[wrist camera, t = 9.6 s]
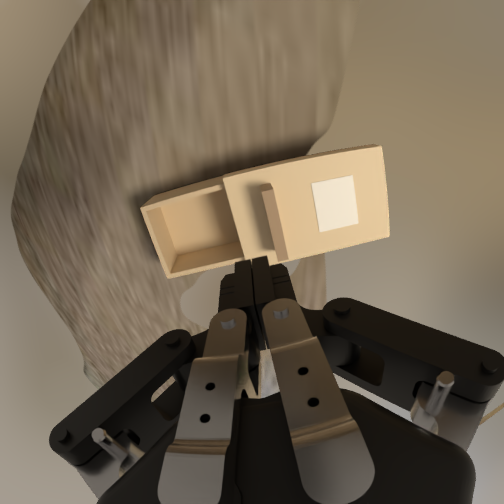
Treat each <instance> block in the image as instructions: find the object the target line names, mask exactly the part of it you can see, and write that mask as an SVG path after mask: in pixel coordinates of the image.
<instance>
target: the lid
mask: <svg viewBox="0 0 504 504" xmlns="http://www.w3.org/2000/svg"><path fill="white" fill-rule="evenodd" d="M223 182H224V185H225V189H226V193H227V196H228V200H229V203H230V207H231V211H232V214H233V218H234V221H235V225H236V228H237V232H238V235H239V239H240V243H241V246H242V250H243V253H244V257H245V260H247V259H251V262H252V258H256V257H261V256H266V255H267V257H268V261H269V266H270V265H274V264H279V263H282V262H287V261H291V260H296V259H300V258H304V257H308V256H312V255H316V254H321V253H325V252H329V251H333V250H337V249H341V248H345V247H349V246H353V245H357V244H361V243H365V242H369V241H373V240H377V239H381V238H385V237H389V236H390V228H389V211H388V198H387V186H386V177H385V168H384V160H383V153H382V146H379V145H375V144H371V145H364V146H357V147H352V148H345V149H340V150H334V151H328V152H323V153H317V154H312V155H307V156H302V157H297V158H292V159H287V160H283V161H278V162H274V163H269V164H265V165H261V166H256V167H252V168H248V169H244V170H240V171H236V172H232V173H228V174H224V176H223Z"/></svg>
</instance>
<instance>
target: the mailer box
mask: <svg viewBox="0 0 504 504" xmlns="http://www.w3.org/2000/svg"><path fill="white" fill-rule="evenodd" d="M223 176H224V175H223ZM223 176H219V177H216V178H212V179H208V180H205V181H201V182H197V183H194V184H190V185H187V186H184V187H180V188H177V189H173V190H170V191H167V192H164V193H160V194H157V195H154V196H153V197H152V198H151V199H149V200H148V201H147V202H146V203H145V204H144V205H143V206H142V207H141V208H140V209H141V212H142V214H143V217H144V220H145V223H146V225H147V228H148V231H149V233H150V236H151V239H152V241H153V244H154V246H155V249H156V251H157V254H158V256H159V259H160V261H161V264H162V266H163V269H164V271H165V274H166V276H167V278H168V279H169V278H174V277H178V276H183V275H187V274H191V273H196V272H200V271H204V270H209V269H213V268H217V267H222V266H225V265H230V264H235V262H238V261H243V260H245V257H244V253H243V250H242V246H241V243H240V239H239V235H238V232H237V228H236V225H235V221H234V218H233V214H232V211H231V207H230V203H229V200H228V196H227V193H226V189H225V185H224V182H223Z"/></svg>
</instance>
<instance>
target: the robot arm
mask: <svg viewBox="0 0 504 504" xmlns="http://www.w3.org/2000/svg"><path fill="white" fill-rule="evenodd" d="M265 341H266V345H267V349H270V352H271V356H272V360H273V364H274V369H275V373H276V377H277V381H278V385H279V389H280V392H278V393H275V394H273V395H270V396H268V397H265V398H261V368H262V366H261V362H260V351H261V350H266V345H265ZM333 373H335V374H337V375H338V376H341V377H342V378H344V379H346V380H348V381H350V382H352V383H354V384H355V385H357V386H359V387H361V388H363V389H365V390H367V391H369V392H371V393H373V394H375V395H377V396H379V397H381V398H383V399H385V400H387V401H389V402H391V403H393V404H395V405H397V406H399V407H401V408H404V409H406V410H408V411H410V412H411V419H412V422H413V423H412V422H410V421H408V420H406V419H405V418H403V417H400V416H399V415H397V414H395V413H393V412H391V411H390V410H388V409H386V408H384V407H382V406H381V405H379V404H377V403H375V402H373V401H372V400H370V399H368V398H366V397H364V396H363V395H361V394H358V393H356V392H353V391H350V390H347V389H341V388H339V386H338V384H337V382H336V379H335V377H334V375H333ZM171 376H173V377H174V379H175V382H174V383H173V384H172V385H171V386H170V387H168V388H167V389H166V390H165V391H164V392H163V393H162V394H161V395H160V396H159V397H158V398H157V399H156V400H155V401H154V402H151V397H152V395H153V393H154V392H155V391H156V390H157V389H158V388H159V387H160V386H162V385H163V384H164V383H165V382H166V381H167V380H168V379H169V378H170V377H171ZM503 381H504V357H503V356H502V355H501V354H500V353H499V352H497V351H495V350H492V349H489V348H487V347H484V346H481V345H478V344H475V343H472V342H470V341H467V340H464V339H461V338H459V337H456V336H453V335H450V334H447V333H445V332H442V331H439V330H436V329H433V328H431V327H428V326H425V325H422V324H420V323H417V322H414V321H411V320H409V319H406V318H403V317H400V316H398V315H395V314H392V313H390V312H387V311H384V310H381V309H379V308H376V307H373V306H370V305H368V304H365V303H362V302H360V301H357V300H354V299H351V298H337V299H333V300H331V301H329V302H328V303H327V304H326V305H325V306H324V307H323V310H309V309H306V308H303V307H302V306H300V305H299V304H298V303H297V300H296V297H295V294H294V290H293V287H292V283H291V280H290V276H289V273H288V270H287V268H286V267H285V266H284V265H282V264H281V263H279V264H275V265H270V266H269V261H268V257H267V255H266V256H261V257H256V258H252V262H251V259H247V260H243V261H238V262H235V273H232V274H228V275H225V277H224V278H223V279H222V281H221V285H220V296H219V307H218V313H217V314H216V315H215V316H214V317H213V318H212V319H211V322H210V326H209V329H208V330H206V331H204V332H202V333H199V334H197V335H194V336H191V335H190V333H189V332H188V331H186V330H183V329H176V330H172V331H169V332H167V333H165V334H164V335H163V336H161V337H160V338H159V339H158V340H157V341H155V342H154V343H153V344H152V345H151V346H150V347H148V348H147V349H146V350H145V351H144V352H142V353H141V354H140V355H139V356H138V357H137V358H135V359H134V360H133V361H132V362H131V363H130V364H128V365H127V366H126V367H125V368H124V369H122V370H121V371H120V372H119V373H118V374H117V375H115V376H114V377H113V378H112V379H111V380H109V381H108V382H107V383H106V384H105V385H104V386H102V387H101V388H100V389H99V390H98V391H97V392H95V393H94V394H93V395H92V396H91V397H89V398H88V399H87V400H86V401H85V402H83V403H82V404H81V405H80V406H79V407H77V408H76V409H75V410H74V411H73V412H72V413H70V414H69V415H68V416H67V417H66V418H64V419H63V420H62V421H61V422H60V423H59V424H57V425H56V426H55V427H54V428H53V430H52V431H51V434H50V437H49V443H50V447H51V448H52V450H53V451H55V452H56V453H57V454H58V455H60V456H61V457H62V458H64V459H65V460H66V461H67V462H68V463H69V464H70V465H72V466H73V467H75V468H76V469H77V470H78V472H79V473H80V475H81V476H82V478H83V479H84V481H85V482H86V483H87V485H88V486H89V487H90V488H91V490H92V491H93V493H94V494H95V495H96V497H97V498H98V499H99V500H98V502H97V504H472V498H473V492H474V487H475V481H476V473H475V468H474V464H473V462H472V460H471V458H470V456H469V455H468V453H467V452H466V451H467V449H468V447H469V445H470V443H471V441H472V439H473V437H474V435H475V433H476V430H477V428H478V426H479V424H480V421H481V419H482V416H483V414H484V411H485V409H486V408H487V406H488V405H489V403H490V402H491V400H492V399H493V397H494V396H495V394H496V393H497V391H498V389H499V388H500V386H501V384H502V382H503Z"/></svg>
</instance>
